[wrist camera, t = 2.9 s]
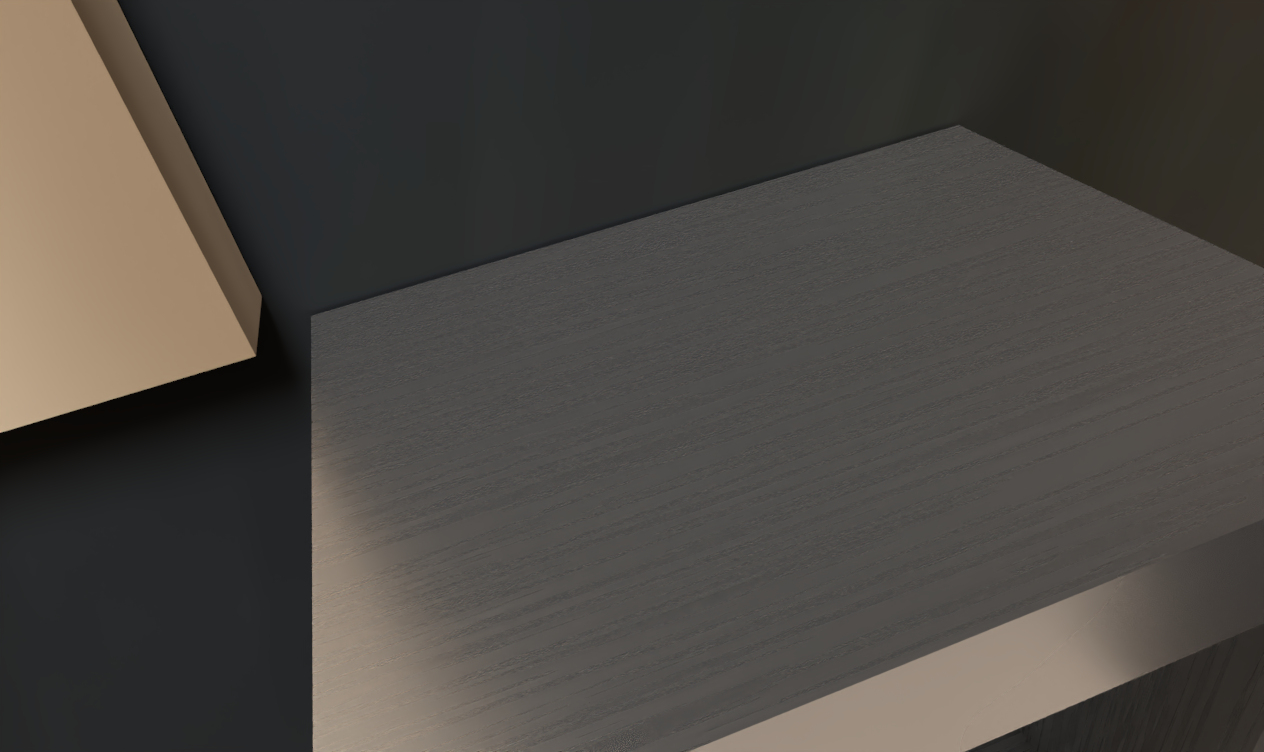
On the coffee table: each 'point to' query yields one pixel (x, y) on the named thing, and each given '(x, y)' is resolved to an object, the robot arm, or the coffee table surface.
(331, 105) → the coffee table surface
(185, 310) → the post stand
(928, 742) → the white square hollow block
